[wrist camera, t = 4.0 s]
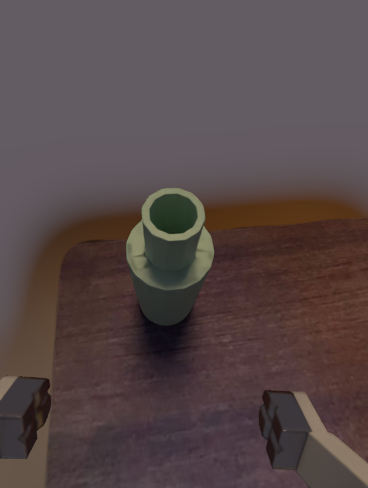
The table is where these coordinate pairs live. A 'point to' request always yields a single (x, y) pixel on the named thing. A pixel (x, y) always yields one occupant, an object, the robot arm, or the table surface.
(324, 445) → the robot arm
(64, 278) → the table surface
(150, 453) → the table surface
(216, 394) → the table surface
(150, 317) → the bottle
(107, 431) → the table surface
